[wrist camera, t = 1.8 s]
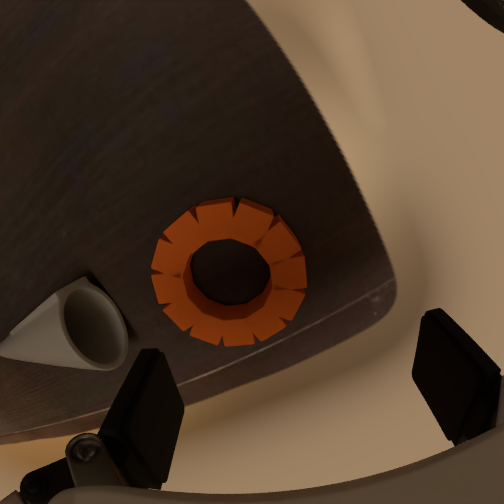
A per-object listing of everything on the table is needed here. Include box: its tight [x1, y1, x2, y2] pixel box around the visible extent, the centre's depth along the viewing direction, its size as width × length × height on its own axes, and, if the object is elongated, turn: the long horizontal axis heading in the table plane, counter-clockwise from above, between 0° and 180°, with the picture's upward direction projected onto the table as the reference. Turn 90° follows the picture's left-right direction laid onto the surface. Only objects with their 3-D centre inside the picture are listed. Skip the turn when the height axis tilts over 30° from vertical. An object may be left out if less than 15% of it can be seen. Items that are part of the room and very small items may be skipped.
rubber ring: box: [151, 197, 307, 347], centre depth 18 cm, size 9×9×2 cm
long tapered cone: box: [0, 276, 129, 370], centre depth 20 cm, size 6×6×19 cm
